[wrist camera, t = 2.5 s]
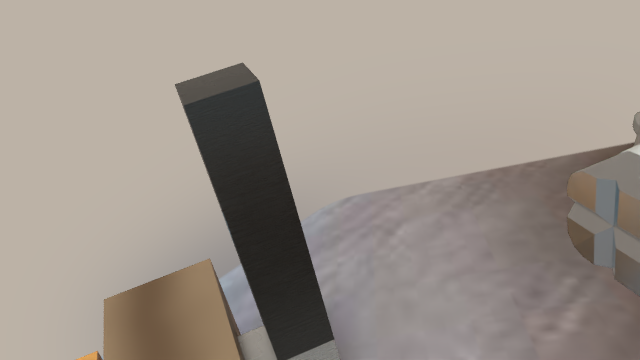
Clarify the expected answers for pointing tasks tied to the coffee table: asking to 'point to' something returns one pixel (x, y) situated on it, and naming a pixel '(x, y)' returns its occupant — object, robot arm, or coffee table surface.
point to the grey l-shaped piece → (259, 214)
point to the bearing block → (172, 319)
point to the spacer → (91, 356)
